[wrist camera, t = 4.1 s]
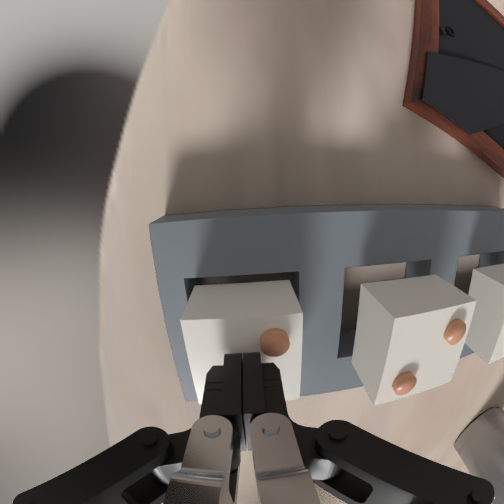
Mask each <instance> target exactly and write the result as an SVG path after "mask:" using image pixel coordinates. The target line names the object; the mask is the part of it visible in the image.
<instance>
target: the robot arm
mask: <svg viewBox="0 0 504 504" xmlns="http://www.w3.org/2000/svg"><path fill="white" fill-rule="evenodd" d="M246 438H247V445H248V451H250V450H252V453H253V461H254V469H255V476H256V482H257V489H258V495H259V502H260V504H320V501H319V498H318V495H317V492H316V489H315V485H314V483H315V484H317V485H318V486H320V487H321V488H323V489H324V490H326V491H327V492H329V493H331V494H332V495H334V496H336V497H337V498H339V499H341V500H342V501H344V502H346V503H348V504H504V410H503V409H502V408H501V407H499V408H491V409H489V410H488V411H486V412H485V413H483V414H482V415H481V416H479V417H478V418H477V419H476V420H475V421H473V422H472V423H471V424H470V425H469V426H468V427H467V428H466V429H465V430H464V431H463V433H462V434H461V435H460V436H459V438H458V439H457V440H456V442H455V445H454V447H455V449H456V451H457V452H458V454H459V455H460V457H461V459H462V460H463V462H464V464H465V465H466V467H467V469H468V470H469V472H470V474H471V475H470V474H467V473H464V472H461V471H458V470H455V469H452V468H450V467H447V466H444V465H441V464H439V463H436V462H434V461H431V460H429V459H426V458H424V457H421V456H419V455H416V454H414V453H412V452H409V451H407V450H405V449H403V448H400V447H398V446H396V445H394V444H392V443H389V442H387V441H385V440H383V439H381V438H379V437H377V436H375V435H373V434H371V433H369V432H367V431H365V430H363V429H361V428H359V427H357V426H355V425H353V424H351V423H349V422H347V421H343V420H332V421H329V422H326V423H324V424H323V425H321V426H320V427H319V428H312V427H304V426H301V425H298V424H296V423H295V422H293V421H292V420H291V419H290V418H289V416H288V413H287V407H286V402H285V396H284V391H283V385H282V380H281V374H280V369H279V368H278V367H277V366H276V365H275V364H274V363H273V362H272V363H261V357H260V352H249V353H243V360H242V353H231V354H224V363H223V365H217V366H212V367H211V368H210V370H209V371H208V372H207V374H206V380H205V386H204V393H203V399H202V406H201V412H200V418H199V419H198V420H197V421H196V422H195V423H194V424H193V426H192V428H191V429H189V430H187V431H184V432H180V433H175V434H169V435H168V434H167V433H166V432H165V431H164V430H162V429H160V428H157V427H145V428H142V429H139V430H138V431H136V432H134V433H133V434H131V435H130V436H128V437H126V438H125V439H123V440H122V441H120V442H118V443H117V444H115V445H113V446H112V447H110V448H108V449H107V450H105V451H103V452H101V453H100V454H98V455H96V456H95V457H93V458H91V459H89V460H87V461H86V462H84V463H82V464H80V465H79V466H76V467H75V468H73V469H71V470H69V471H67V472H65V473H63V474H61V475H59V476H57V477H55V478H53V479H51V480H49V481H47V482H45V483H43V484H41V485H38V486H36V487H34V488H32V489H30V490H27V491H25V492H23V493H21V494H19V495H17V496H16V498H15V499H14V501H13V504H161V503H162V502H163V504H236V503H237V493H238V483H239V473H240V451H246Z"/></svg>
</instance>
